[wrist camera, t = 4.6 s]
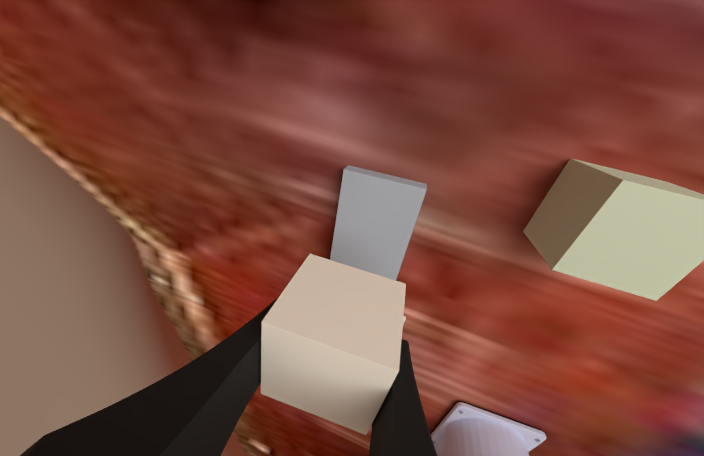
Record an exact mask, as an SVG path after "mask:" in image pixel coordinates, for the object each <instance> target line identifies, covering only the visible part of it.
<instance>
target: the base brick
mask: <svg viewBox="0 0 704 456" xmlns="http://www.w3.org/2000/svg"><path fill="white" fill-rule="evenodd" d="M426 190H427V185H426V184H425V183H421V182H416V181H412V180H408V179H404V178H400V177H395V176H391V175H387V174H383V173H379V172H374V171H370V170H366V169H362V168H358V167H354V166H349V165H348V166H347V167H346V168H345V169H344V171H343V178H342V184H341V191H340V197H339V204H338V210H337V217H336V223H335V230H334V236H333V243H332V249H331V256H330V260H332V261H335V262H338V263H341V264H345V265H348V266H351V267H354V268H357V269H360V270H364V271H367V272H370V273H373V274H376V275H379V276H383V277H386V278H389V279H392V280H395V281H396V278H397V275H398V272H399V269H400V267H401V264H402V261H403V258H404V255H405V252H406V249H407V246H408V243H409V240H410V237H411V234H412V231H413V228H414V225H415V222H416V219H417V217H418V214H419V211H420V208H421V205H422V202H423V199H424V196H425V193H426Z"/></svg>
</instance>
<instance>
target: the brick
mask: <svg viewBox="0 0 704 456" xmlns="http://www.w3.org/2000/svg"><path fill="white" fill-rule="evenodd" d="M405 290H406V284H405V283H402V282H398V281H395V280H392V279H389V278H386V277H383V276H379V275H376V274H373V273H370V272H367V271H364V270H360V269H357V268H354V267H351V266H348V265H345V264H341V263H338V262H335V261H332V260H329V259H326V258H322V257H319V256H316V255H313V254H309V256H308V257H307V258H306V260H305V261H304V263H303V264H302V265H301V267H300V268H299V270H298V271H297V272H296V274H295V275H294V277H293V278H292V279H291V281H290V282H289V284H288V285H287V287H286V288H285V289H284V291H283V292H282V294H281V295H280V296H279V298H278V299H277V301H276V302H275V303H274V305H273V306H272V308H271V309H270V310H269V312H268V313H267V315H266V316H265V318H264V319H263V320H262V330H261V394H263V395H266V396H268V397H271V398H273V399H276V400H278V401H281V402H283V403H286V404H288V405H291V406H293V407H296V408H299V409H301V410H304V411H306V412H309V413H311V414H314V415H316V416H319V417H321V418H324V419H326V420H329V421H331V422H334V423H336V424H339V425H341V426H344V427H347V428H349V429H352V430H354V431H357V432H359V433H362V434H364V435H366V434H367V432H368V430H369V428H370V427H371V425H372V423H373V421H374V419H375V417H376V415H377V413H378V411H379V409H380V407H381V405H382V403H383V401H384V399H385V397H386V395H387V393H388V391H389V389H390V388H391V386H392V384H393V382H394V380H395V378H396V376H397V374H398V372H399V365H400V352H401V340H402V327H403V315H404V302H405Z"/></svg>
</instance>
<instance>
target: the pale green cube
mask: <svg viewBox="0 0 704 456" xmlns="http://www.w3.org/2000/svg"><path fill="white" fill-rule="evenodd" d="M523 232H524V234H525V235H526V236H527V238H528V239H529V240H530V242H531V243H532V244H533V246H534V247H535V248H536V249H537V251H538V252H539V253H540V255H541V256H542V257H543V259H544V260H545V261H546V263H547V264H548V265H549V267H550V268H551V269H552V270H554V271H557V272H561V273H564V274H567V275H571V276H574V277H578V278H581V279H584V280H588V281H591V282H594V283H598V284H601V285H605V286H608V287H611V288H615V289H618V290H622V291H625V292H628V293H632V294H635V295H638V296H642V297H645V298H649V299H652V300H655V301H657V300H658V299H659V298H660V297H661V296H663V295H664V294H665V293H666V292H667V291H668V290H670V289H671V288H672V287H673V286H674V285H675V284H677V283H678V282H679V281H680V280H681V279H682V278H684V277H685V276H686V275H687V274H688V273H689V272H691V271H692V270H693V269H694V268H695V267H696V266H698V265H699V264H700V263H701V262H702V261H703V260H704V195H703V194H700V193H698V192H695V191H692V190H689V189H686V188H683V187H680V186H677V185H674V184H671V183H669V182H665V181H661V180H657V179H653V178H649V177H645V176H641V175H637V174H633V173H629V172H624V171H620V170H616V169H612V168H608V167H604V166H600V165H596V164H592V163H587V162H583V161H579V160H575V159H571V158H570V160H569V161H568V163H567V164H566V166H565V167H564V169H563V170H562V172H561V173H560V175H559V176H558V178H557V180H556V181H555V183H554V184H553V186H552V187H551V189H550V190H549V192H548V193H547V195H546V197H545V198H544V200H543V201H542V203H541V204H540V206H539V207H538V209H537V210H536V212H535V213H534V215H533V217H532V218H531V220H530V221H529V223H528V224H527V226H526V227H525V229H524V230H523Z"/></svg>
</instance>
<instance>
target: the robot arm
mask: <svg viewBox="0 0 704 456" xmlns="http://www.w3.org/2000/svg"><path fill="white" fill-rule="evenodd" d="M277 299H278V298H277ZM277 299H276V300H274V301H273V302H272V303H271V304H270V305H269V306H267V307H266V308H265V309H264V310H263V311H262V312H260V313H259V314H258V315H257V316H255V317H254V318H253V319H252V320H250V321H249V322H248V323H247V324H245V325H244V326H243V327H241V328H240V329H239V330H237V331H236V332H235V333H233V334H232V335H231V336H229V337H228V338H226V339H225V340H224V341H222V342H221V343H219V344H218V345H216V346H215V347H214V348H212V349H211V350H209V351H208V352H206V353H205V354H203V355H201V356H200V357H198V358H197V359H195V360H194V361H192V362H190V363H189V364H187V365H185V366H184V367H182V368H180V369H179V370H177V371H175V372H173V373H172V374H170V375H168V376H166V377H165V378H163V379H161V380H159V381H158V382H156V383H154V384H152V385H150V386H148V387H146V388H145V389H143V390H141V391H139V392H137V393H135V394H133V395H131V396H129V397H127V398H125V399H123V400H121V401H119V402H117V403H115V404H113V405H111V406H109V407H107V408H104V409H102V410H100V411H98V412H96V413H94V414H91V415H89V416H87V417H85V418H82V419H80V420H78V421H76V422H74V423H71V424H69V425H67V426H65V427H62V428H60V429H58V430H56V431H53V432H51V433H49V434H47V435H45V436H43V437H42V438H41V439H39V440H38V441H37V442H36V443H34V444H33V445H32V446H31V447H30V448H28V449H27V450H26V451H25V452H24V453H23V454H21V455H20V456H221V453H222V451H223V449H224V447H225V445H226V443H227V441H228V439H229V438H230V436H231V434H232V432H233V430H234V428H235V426H236V424H237V422H238V420H239V418H240V416H241V414H242V413H243V411H244V409H245V407H246V406H247V404H248V402H249V401H250V399H251V397H252V396H253V394H254V393H255V391H256V389H257V388H258V386H259V384H260V383H261V330H262V320H263V319H264V318H265V316H266V315H267V313H268V312H269V310H270V309H271V308H272V306H273V305H274V303H275V302H276V301H277ZM544 440H546V436H545V433H544V432H542V431H540V430H537V429H535V428H532V427H529V426H526V425H524V424H521V423H518V422H515V421H513V420H510V419H507V418H504V417H502V416H499V415H496V414H493V413H490V412H488V411H485V410H482V409H479V408H477V407H474V406H471V405H468V404H466V403H463V402H458V403H457V404H456V405H455V406H454V407H453V408H452V410H451V411H450V412H449V413H448V415H447V416H446V417H445V418H444V419H443V421H442V422H441V423H440V424H439V425H438V427H437V428H436V429H435V430H434V432H433V433H432V434H431V435H430V431H429V428H428V425H427V422H426V418H425V415H424V412H423V408H422V404H421V401H420V397H419V393H418V389H417V385H416V381H415V377H414V372H413V367H412V362H411V357H410V351H409V344H408V342H407V341H406V340H403V339H402V340H401V352H400V365H399V372H398V374H397V376H396V378H395V380H394V382H393V384H392V386H391V388H390V389H389V391H388V393H387V395H386V397H385V399H384V401H383V403H382V405H381V407H380V409H379V411H378V413H377V415H376V417H375V419H374V421H373V423H372V432H371V443H370V453H369V456H529V454H528V452H529V451H530V450H532V449H533V448H535V447H536V446H537V445H539V444H540V443H542V442H543V441H544Z"/></svg>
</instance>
